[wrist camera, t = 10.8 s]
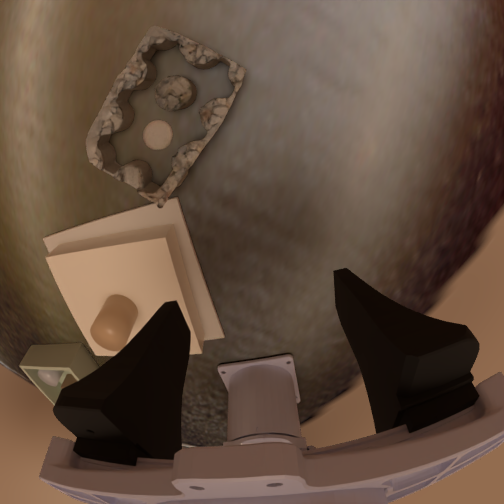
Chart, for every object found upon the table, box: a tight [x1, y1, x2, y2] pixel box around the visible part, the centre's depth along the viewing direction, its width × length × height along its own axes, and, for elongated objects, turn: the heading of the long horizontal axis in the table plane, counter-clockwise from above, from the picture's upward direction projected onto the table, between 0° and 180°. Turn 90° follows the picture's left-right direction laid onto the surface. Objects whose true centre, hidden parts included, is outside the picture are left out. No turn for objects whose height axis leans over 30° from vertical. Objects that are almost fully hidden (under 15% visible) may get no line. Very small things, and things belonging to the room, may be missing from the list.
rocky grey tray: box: [86, 26, 246, 208], centre depth 17 cm, size 11×8×4 cm
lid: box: [45, 224, 205, 356], centre depth 22 cm, size 11×11×6 cm
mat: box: [43, 196, 225, 340], centre depth 25 cm, size 14×14×1 cm
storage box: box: [19, 343, 99, 406], centre depth 29 cm, size 10×10×4 cm
